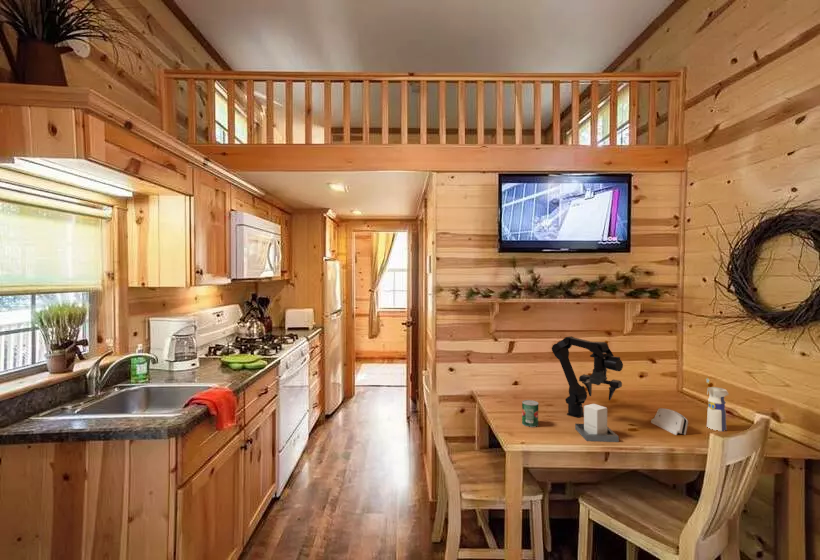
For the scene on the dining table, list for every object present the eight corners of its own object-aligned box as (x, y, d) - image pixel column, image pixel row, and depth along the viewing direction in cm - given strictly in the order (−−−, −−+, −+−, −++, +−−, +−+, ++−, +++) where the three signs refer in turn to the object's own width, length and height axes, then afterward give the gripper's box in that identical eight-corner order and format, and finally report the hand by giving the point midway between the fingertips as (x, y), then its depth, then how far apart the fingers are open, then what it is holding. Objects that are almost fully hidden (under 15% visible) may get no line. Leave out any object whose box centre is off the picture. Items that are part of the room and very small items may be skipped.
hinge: (650, 422, 197) (656, 403, 197) (658, 425, 197) (664, 406, 198) (676, 435, 180) (683, 415, 181) (685, 438, 181) (691, 418, 181)
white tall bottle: (719, 432, 184) (720, 380, 184) (701, 426, 192) (702, 376, 192) (732, 430, 186) (732, 379, 186) (713, 424, 194) (714, 374, 194)
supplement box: (607, 435, 179) (608, 407, 179) (597, 437, 175) (597, 410, 175) (594, 429, 185) (594, 403, 185) (583, 432, 182) (583, 405, 182)
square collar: (575, 428, 187) (575, 423, 187) (604, 429, 186) (604, 424, 186) (586, 440, 173) (586, 435, 173) (618, 442, 172) (618, 436, 172)
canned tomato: (519, 421, 197) (519, 400, 197) (534, 421, 197) (534, 399, 197) (525, 427, 189) (525, 405, 189) (541, 427, 189) (541, 404, 189)
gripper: (574, 366, 195) (574, 397, 195) (614, 373, 181) (614, 406, 181) (583, 363, 203) (583, 392, 203) (622, 369, 189) (622, 401, 189)
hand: (599, 398), depth 194 cm, fingers open, 9 cm apart
